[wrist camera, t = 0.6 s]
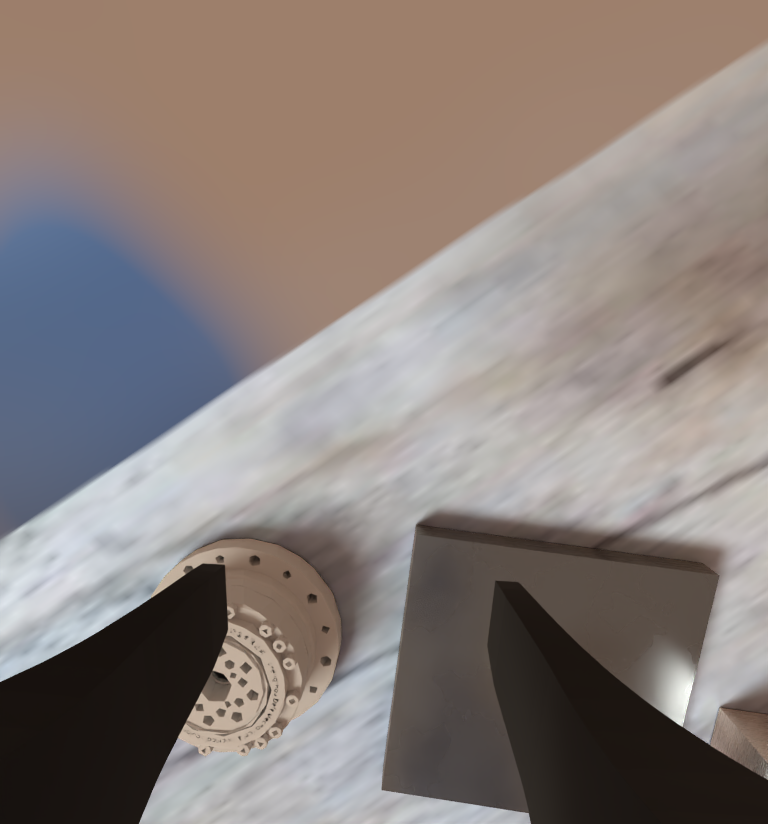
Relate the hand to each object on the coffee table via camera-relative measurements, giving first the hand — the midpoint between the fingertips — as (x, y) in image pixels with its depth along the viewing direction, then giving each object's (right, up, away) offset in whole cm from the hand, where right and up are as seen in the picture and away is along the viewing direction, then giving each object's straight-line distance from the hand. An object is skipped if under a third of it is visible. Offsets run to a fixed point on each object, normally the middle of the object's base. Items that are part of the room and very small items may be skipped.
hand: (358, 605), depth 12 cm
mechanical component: (-6, -6, +12) cm, 15 cm away
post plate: (+8, -8, +11) cm, 16 cm away
